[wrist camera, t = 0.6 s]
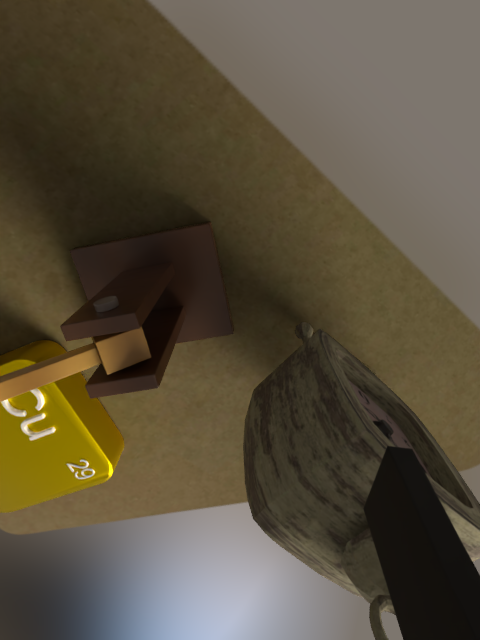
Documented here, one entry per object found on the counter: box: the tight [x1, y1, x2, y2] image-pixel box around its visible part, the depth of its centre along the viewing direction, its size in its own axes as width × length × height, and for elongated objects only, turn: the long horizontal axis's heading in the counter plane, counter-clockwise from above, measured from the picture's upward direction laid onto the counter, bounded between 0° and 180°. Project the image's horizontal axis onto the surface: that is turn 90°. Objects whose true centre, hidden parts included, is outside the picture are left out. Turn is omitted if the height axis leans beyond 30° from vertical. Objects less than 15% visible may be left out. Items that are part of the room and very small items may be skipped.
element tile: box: [0, 340, 124, 513], centre depth 37 cm, size 15×15×5 cm
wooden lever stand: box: [60, 222, 234, 399], centre depth 28 cm, size 12×10×13 cm
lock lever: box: [0, 326, 151, 402], centre depth 21 cm, size 12×6×2 cm, turn 101°
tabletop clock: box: [243, 322, 480, 640], centre depth 25 cm, size 14×9×25 cm, turn 48°
